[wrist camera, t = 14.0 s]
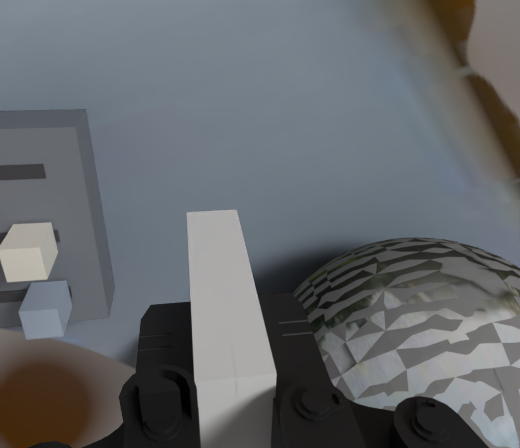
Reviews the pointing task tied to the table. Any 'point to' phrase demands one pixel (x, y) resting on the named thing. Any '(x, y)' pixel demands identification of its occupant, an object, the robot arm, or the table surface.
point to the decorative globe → (422, 329)
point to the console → (55, 207)
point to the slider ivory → (28, 252)
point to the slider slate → (46, 309)
